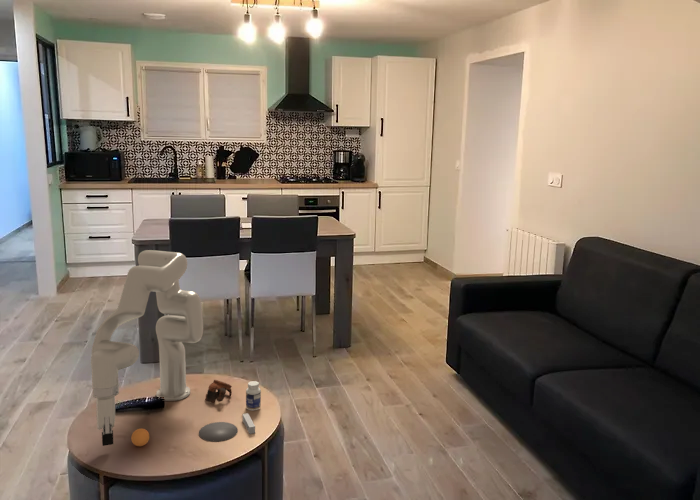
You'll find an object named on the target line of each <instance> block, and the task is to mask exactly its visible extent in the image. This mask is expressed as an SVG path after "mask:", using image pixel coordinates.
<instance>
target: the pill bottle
mask: <svg viewBox="0 0 700 500" xmlns="http://www.w3.org/2000/svg"><path fill="white" fill-rule="evenodd" d="M261 393H262V391H261V388H260V382H259V381H256V380H253V381H252V380H251V381H248V383H247V388H246V390H245V408H246V409H247V410H249V411H258V410H260V409H261V397H262V396H261V395H262V394H261Z"/></svg>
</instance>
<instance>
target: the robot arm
mask: <svg viewBox="0 0 700 500" xmlns="http://www.w3.org/2000/svg"><path fill="white" fill-rule="evenodd" d="M137 263H138V265H135V266H132V267H131V268H130V269H129V270H128V272H127V275H126V279H125V281H124V284H123V288H122V292H121V295H120V300H119V303H118V306H117V308H116V310H114V311H113V312H112V313H111V314H109V315H108V316H107V317H106V318H105V319H104V321H102V323H101V324H100V325H99V327H98V329H97V331H96V332H95V337H94V339H93V343H92V347H91V356H90V363H91V365H90V367H91V384H92V386H91V387H92V390H91V391H92V397H93V398H94V399H96V402H95V403H96V406H95V407H96V424H97V426H96V427H97V430H98V431H100V430H102V432H101V436H102V437H101V439H102V440H101V443H102V446H103V447H105V446H111V445H114V430H113V428H114V427H115V421H116V397H117V396H118V395H119V393H120V387H119V385H120V383H119V371H120V370H122V369H126V368H128V367H131V366H133V365H134V364H135V363H136V362H137V361H138V359H139V356H140V351H139V348H138V347H137V346H136V345H135V344H132V343H129V342H121V341H114V340H113V341H112V340H111V338H112V335H113V334H114V332H115V330H117V328H119V327H120V326H121V325H123V324H126V323H127V322H130V321H133V320H136V319H138V318H141V317H143V316H144V315H145V312H146V309H147V305H148V301H149V298H150V294H151V292H153V293H154V292H155V296H156V304H157V309H158V311H159V312H160V313H161V314H163V316H161V317H159V318H158V320H157V321H156V324H155V333H156V338H157V342H158V350H159V351H158V352H159V354H158V355H159V382H160V383H159V384H160V386H159V387H160V388H159V389H157V390H156V392H155V393H156V398H157V397H164V399H165V400H164V401H165V402H175V401H180V400H183V399H185V398H187V397H188V396H190V395H191V387H189V386H187V375H186V374H187V373H186V372H187V371H186V370H187V369H186V368H187V367H186V366H187V365H186V348H185V345H184V344H183V343H189V344H195V343H198V342H200V341H201V340H202V338H203V335H204V320H203V308H202V300H201V297H200V296H199V294H198V293H197V292H196V291H191V290H183V289H182V288H180V286H181V285H180V279H181V278H182V277H183V276H184V274H185V273H186V271H187V269H188V259H187V257H186V255H185V254H183V253H181V252H177V251H176V252H175V251H165V250H155V249H153V250H152V249H149V250H148V249H145V250H142V251H141V252H140V253H139V254H138V256H137Z"/></svg>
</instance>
